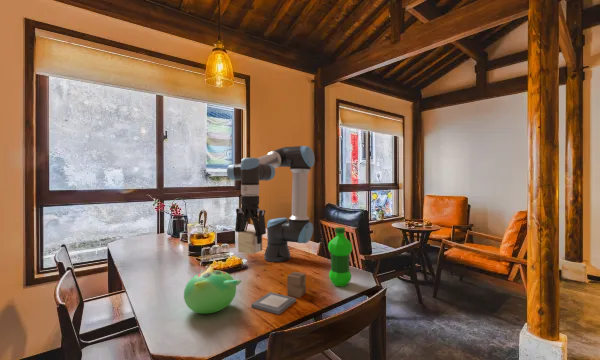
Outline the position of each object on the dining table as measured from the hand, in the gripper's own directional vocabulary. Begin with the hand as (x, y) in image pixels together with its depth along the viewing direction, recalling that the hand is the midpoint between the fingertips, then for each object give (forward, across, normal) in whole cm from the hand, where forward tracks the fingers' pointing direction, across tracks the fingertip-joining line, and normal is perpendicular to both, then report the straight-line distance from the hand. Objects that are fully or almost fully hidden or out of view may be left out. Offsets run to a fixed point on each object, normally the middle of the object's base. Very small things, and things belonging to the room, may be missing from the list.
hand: (250, 250), depth 119 cm
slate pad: (+17, +15, -5) cm, 24 cm away
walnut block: (+17, +18, +7) cm, 26 cm away
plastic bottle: (+17, +30, +26) cm, 43 cm away
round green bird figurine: (+18, -1, -20) cm, 27 cm away
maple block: (0, 0, 0) cm, 0 cm away
